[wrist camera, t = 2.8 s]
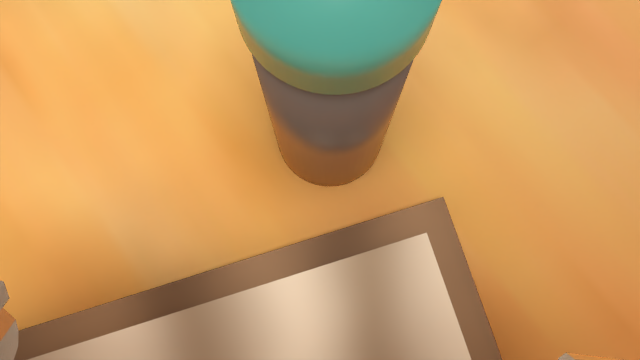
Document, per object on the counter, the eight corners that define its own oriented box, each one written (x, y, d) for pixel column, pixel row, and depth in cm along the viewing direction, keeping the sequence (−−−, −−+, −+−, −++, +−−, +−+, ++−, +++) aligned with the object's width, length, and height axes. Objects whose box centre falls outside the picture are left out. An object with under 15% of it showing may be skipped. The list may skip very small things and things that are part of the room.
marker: (364, 70, 22) (410, -188, 10) (398, 170, 21) (490, 13, 10) (261, 101, 22) (190, -127, 10) (293, 203, 21) (256, 83, 9)
